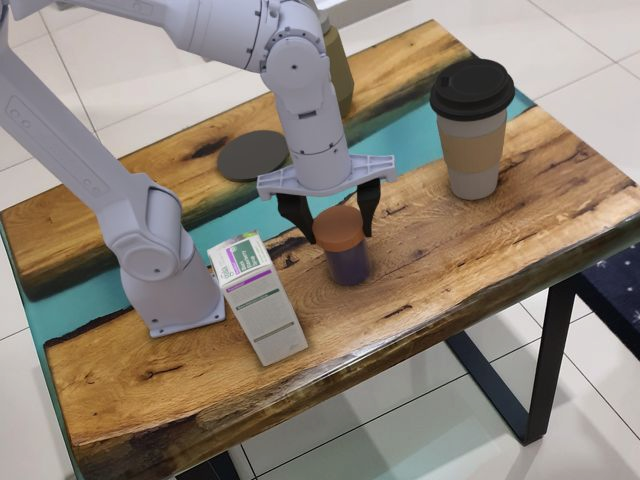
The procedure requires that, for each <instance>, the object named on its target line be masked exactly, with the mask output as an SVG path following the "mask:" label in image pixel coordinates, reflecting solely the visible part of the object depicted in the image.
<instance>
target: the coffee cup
mask: <svg viewBox="0 0 640 480" xmlns="http://www.w3.org/2000/svg"><path fill="white" fill-rule="evenodd" d="M515 96H516V86H515V82H514V79H513V77H512V76H511V75H510V73H508V70H507V68H506V67H505V66H504V65H503V64H501V63H500V62H498V61H495V60H493V59H488V58H468V59H464V60H460V61H457V62H454V63H451V64H450V65H448V66H447V67H445V68H444V69H443V70H441V71H440V72H439V74H438V75H437V76H436V79H435V81H434V83H433V84H432V86H431V88H430V92H429V98H428V99H429V101H428V103H429V106H430V108H431V110H432V111H433V112H434V113H435V114H436V126H437V131H438V136H439V141H440V146H441V150H442V151H441V152H442V155H443V156H442V157H443V160H444V163H445V165H446V170H447V174H448V181H449V184H450V189H451V191H452V193H453V195H455V196H456V197H457V198H459V199H461V200H465V201H467V200H469V201H475V200H481V199H485V198H486V197H489V196H490V195H492V194H493V193H494V192H495V190H496V188H497V186H498V180H499V172H500V165H501V159H502V156H503V152H504V143H505V137H506V129H507V121H508V107H509V106H510V105H511V104H512V102H513V101H514V99H515Z"/></svg>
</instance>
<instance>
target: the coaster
mask: <svg viewBox="0 0 640 480" xmlns="http://www.w3.org/2000/svg"><path fill="white" fill-rule="evenodd" d="M289 155H290V152H289V149H288V146H287V142H286V139H285V135H284V134H282V133H280V132H278V131H275V130H269V129H259V130H253V131H249V132H245V133H243V134H241V135H239V136H237V137H235V138H232V140H230V141H229V142H227V144H225V146H224V147H222V149H221V150H220V152H219V154H218V156H217V159H216V166H217V170H218V171H219V174H221V176H222V177H224V178H225V179H226V180H228V181H232V182H235V183H236V182H237V183H251V182H255V181H256V182H257V180H258V176H259V175H264V174H268V173H272V172H275V171H277V170H280V169H281V168H282V167H283V166H284V164H285V163H286V161H287V160H288V159H289Z"/></svg>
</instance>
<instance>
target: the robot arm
mask: <svg viewBox="0 0 640 480" xmlns="http://www.w3.org/2000/svg"><path fill="white" fill-rule="evenodd" d="M57 2H62V3H66V4H69V5H72V6H77V7H80V8H85V9H88V10H92V11H96V12H100V13H104V14H107V15H111V16H116V17H119V18H122V19H126V20H131V21H133V22H138V23H142V24H145V25H149V26H152V27H153V26H154V27H157V28H161V29H163V31H164V32H165V33H166V35H167V36H168V38H169V39H170V41H171V42H172V44H173V45H174V46H175V48H176V49H178V50H180V51H183V52H187V53H190V54H193V55H196V56H199V57H201V58H205V59H209V60H211V61H215V62H218V63H221V64H223V65H226V66H227V65H228V66H230V67H233V68H237V69H240V70H243V71H246V72H249V73H253V74H259V77H260V79H261V81H262V83H263V84H264V86H265V87H266V88H267V89H268V90H269V91H270V92H271V93H273V96H274V107H275V110H276V113H277V116H278V119H279V123H280V126H281V129H282V132H283V136H284V137H285V139H286V142H287V146H288V149H289V155H290V158H291V161H292V164H290V165H287V166H285V167H281V168H279V169H278V170H277V171H275V172H272V173H268V174H264V175H259V176H258V180H256V191H257V193H258V195H259V198H260V201H261V202H267V201H268V202H269V201H271V200H272V197H273V196H275V197H276V202H277V211H278V214H279V215H280V217H281V218H284V219H285V220H287V221H289V222H290V223H291V224H293V225H294V226H295V227H296V229H298V230H299V231H300V232H301V233H302V235H303V236H304V237H305V239H306V240H307V241H308V243H309V244H310V246H314V245H317V243H316V241H315V237H314V234H313V231H312V225H313V221H314V220H315V219H314V217H313V214H312V212H311V209H310V205H309V202H308V198H307V197H311V198H326V197H331V196H334V195H337V194H339V193H342V192H344V191H347V190H349V189H352V188H354V187H356V203H357V207H358V210H359V211H360V212H361V215H362V219H363V226H364V234H365V237H366V239H368V238H372V236H373V219H374V217H375V216H374V215H375V213H376V210H377V208H378V207H379V204H380V201H381V197H382V193H381V192H382V189H381V187H382V186H381V181H382V180H385V182H386V183H387V184H391V183H397V182H398V172H397V163H396V158H395V154H390V155H389V154H388V155H371V154H357V153H350V152H349V147H348V143H347V139H346V135H345V130H344V124H343V121H342V118H341V115H340V111H339V106H338V102H337V97H336V93H335V88H334V86H333V84H332V82H331V75H330V71H329V68H330V60H329V57H328V56H327V54H326V48H325V43H324V38H323V33H322V28H321V24H320V21H319V19H318V17H317V15H316V13H315V12H314V10H313V9H312V8H311V7H310V6H309V5H307V4H306V3H304V2H302V1H301V0H0V127H1V129H3V131H5V132H6V133H7V134H8V135H9V136H10V137H11V138H12V139H13V140H14V141H16V142H17V144H18V145H20V146H21V147H22V148H24V150H26V151H27V152H28V154H30V155H31V156H32V157H33V158H34V159H35V160H36V161H37V162H39V163H40V164H41V165H42V166H43V167H44V168H45V169H46V170H47V171H48V172H49V173H50V174H52V176H54V177H55V178H56V179H57V180H58V181H59V182H61V184H62V185H63V186H65V187H66V188H67V189H68V190H69V191H70V192H71V193H72V194H73V195H74V196H76V197H77V199H79V200H80V201H81V202H82V203H83V204H84V205H85V206H86V207H87V208H89V209H90V210H91V211H92V212H93V213H94V214H95V217H96V220H97V223H98V226H99V229H100V232H101V236H102V238H103V241H104V244H105V246H106V247H107V248H108V249H110V251H112V253H114V255H115V256H116V258H117V261H118V264H119V266H120V269H119V271H120V273H119V274H120V281H121V284H122V288H123V291H124V293H125V295H126V298H127V300H128V301H129V304H131V306H132V307H133V309H134V310H135V312H136V313H137V315H138V316H139V317H140V319H141V320H142V321H143V322H144V324H145V326H146V327H147V329H148V330H149V336H150V337H151V338H152V339H157V338H161V337H165V336H168V335H172V334H176V333H179V332H184V331H187V330H192V329H196V328H199V327H203V326H206V325H210V324H215V323H218V322H222V321H224V320H225V319H226V302H225V296H224V294H223V292H222V291H221V289H220V287H219V284H218V282H217V279H216V277H215V275H214V272H211V271H210V269H209V268H208V266H207V264H206V261H204V258H203V257H202V255H201V253H200V251H199V249H198V247H197V245H196V243H195V242H194V240H193V237H192V236H191V234H189V232H187V231H186V230H185V228H184V226H183V224H182V216H183V211H184V208H183V204H182V201H181V199H180V198H179V196H178V195H177V194H176V193H175V192H174V191H172V190H171V189H169V188H168V187H165V186H163V185H160V184H159V183H157V182H155V180H153V179H152V178H151V177H150V176H149V175H148V174H147V172H137V173H136V172H135V173H131V172H130V171H129V170H128V169H127V168H126V167H125V166H124V165H123V164H122V163H121V162H120V161H119V160H118V159H117V157H115V156H114V154H112V153H111V152H110V150H109V149H108V148H107V147H106V146H105V145H104V144H103V143H102V142H101V141H100V140H99V139H98V138H97V137H96V136H95V135H94V133H92V132H91V131H90V130H89V128H88V127H87V126H86V125H85V124H84V123H83V122H82V121H81V120H80V119H79V118H78V117H77V116H76V115H75V114H74V113H73V112H72V110H70V108H68V107H67V106H66V104H65V103H64V102H62V101H61V99H60V98H59V97H58V96H57V95H56V94H55V93H54V92H53V91H52V90H51V89H50V88H49V87H48V86H47V85H46V84H45V82H44V81H42V79H40V78H39V76H38V75H36V73H35V72H34V71H33V70H32V69H31V68H30V67H29V66H28V65H27V64H26V63H25V62H24V61H23V60H22V59H21V58H20V57H19V55H17V53H16V52H15V51H13V50H12V48H11V47H10V45H9V19H10V18H9V15H10V10H11V13H12V17H13V20H14V21H15V22H19V21H22V20H24V19H25V18H27V17H29V16H32V15H33V14H35V13H38V12H39V11H41V10H43V9H45V8H46V7H48V6H51V5H52V4H54V3H57ZM9 7H10V8H9Z"/></svg>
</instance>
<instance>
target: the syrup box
mask: <svg viewBox="0 0 640 480" xmlns="http://www.w3.org/2000/svg"><path fill="white" fill-rule="evenodd" d="M206 253H207V256H208V259H209V262H210V265H211V268H212V273H214V275H215V276H214V277H216V279H217V282H218V284H219V287H220V289H221V291H222V292H223V294H224V299H225V300H226V301H227V304H228V305H229V307H230V309H231V311H232V313H233V315H234V316H235V318H236V320H237V321H238V324H239V326H240V328H241V329H242V331H243V333H244V334H245V336H246V338H247V339H248V342H249V343H250V345H251V347H252V348H253V350H254V353H255V355H256V356H257V358H258V359H259V362H260V363H261V365H262V366H263V367H268V366H270V365H273V364H275V363H277V362H280V361H282V360H284V359H286V358H289V357H291V356H293V355H295V354H297V353H299V352H302V351H303V350H306V349H308V348H309V344H308V340H307V339H306V336H305V334H304V332H303V329H302V326H301V324H300V322H299V319H298V317H297V314H296V312H295V309H294V307H293V305H292V303H291V300H290V298H289V295H288V293H287V290H286V289H285V286H284V283H283V281H282V279H281V277H280V275H279V273H278V271H277V269H276V267H275V265H274V262H273V260H272V259H271V258H272V257H271V255H270V254H269V252H268V250H267V248H266V246H265V244H264V241H263V239H262V237H261V235H260V232H259V230H258V229H256V228H255V229H252V230H248V231H246V232H243V233H240V234H238V235H235V236H233V237H231V238H228V239H226V240H224V241H222V242H220V243H218V244H216V245H214V246H213V247H211V248H208V249H206Z"/></svg>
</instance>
